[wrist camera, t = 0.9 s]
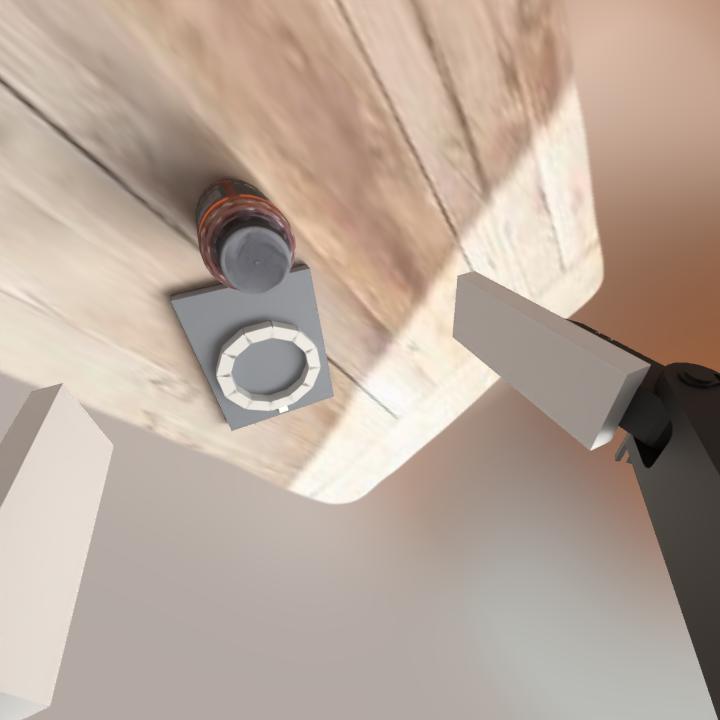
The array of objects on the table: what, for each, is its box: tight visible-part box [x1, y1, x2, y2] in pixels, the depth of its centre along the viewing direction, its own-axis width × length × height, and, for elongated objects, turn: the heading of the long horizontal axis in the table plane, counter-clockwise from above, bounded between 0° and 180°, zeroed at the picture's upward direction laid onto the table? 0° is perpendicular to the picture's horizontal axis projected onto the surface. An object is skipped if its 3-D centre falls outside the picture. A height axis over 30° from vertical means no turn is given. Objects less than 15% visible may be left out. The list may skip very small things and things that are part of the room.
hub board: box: [171, 264, 334, 431], centre depth 35 cm, size 16×12×2 cm
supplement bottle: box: [196, 179, 296, 295], centre depth 24 cm, size 6×6×11 cm
